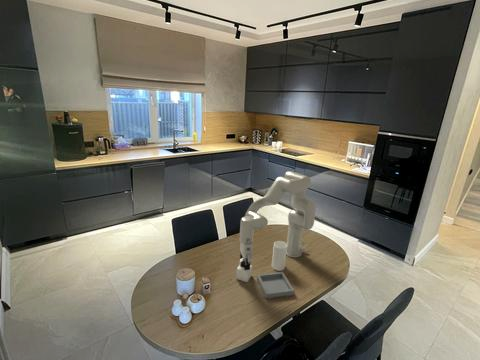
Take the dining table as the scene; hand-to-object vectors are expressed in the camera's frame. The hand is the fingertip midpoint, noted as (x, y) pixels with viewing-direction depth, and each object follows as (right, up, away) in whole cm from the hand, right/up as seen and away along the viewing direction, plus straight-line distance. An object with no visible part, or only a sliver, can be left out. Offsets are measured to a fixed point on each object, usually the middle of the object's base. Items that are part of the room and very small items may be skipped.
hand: (244, 264), depth 148 cm
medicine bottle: (0, -9, +3) cm, 9 cm away
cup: (+21, -6, +14) cm, 26 cm away
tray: (+17, -11, -4) cm, 21 cm away
